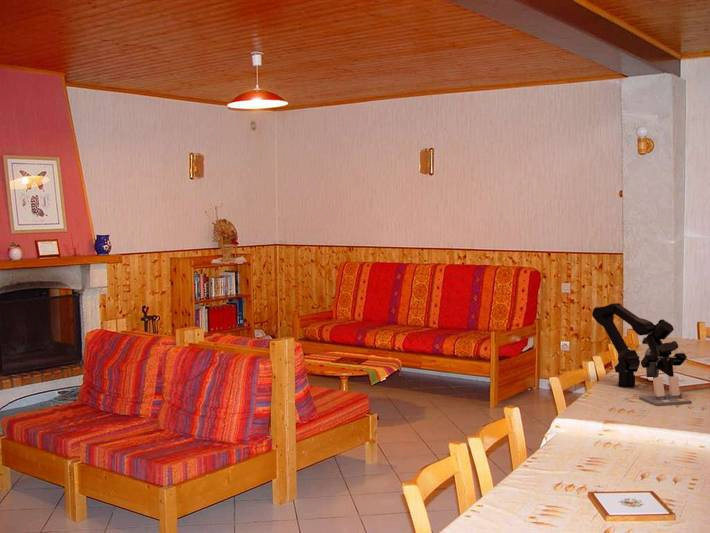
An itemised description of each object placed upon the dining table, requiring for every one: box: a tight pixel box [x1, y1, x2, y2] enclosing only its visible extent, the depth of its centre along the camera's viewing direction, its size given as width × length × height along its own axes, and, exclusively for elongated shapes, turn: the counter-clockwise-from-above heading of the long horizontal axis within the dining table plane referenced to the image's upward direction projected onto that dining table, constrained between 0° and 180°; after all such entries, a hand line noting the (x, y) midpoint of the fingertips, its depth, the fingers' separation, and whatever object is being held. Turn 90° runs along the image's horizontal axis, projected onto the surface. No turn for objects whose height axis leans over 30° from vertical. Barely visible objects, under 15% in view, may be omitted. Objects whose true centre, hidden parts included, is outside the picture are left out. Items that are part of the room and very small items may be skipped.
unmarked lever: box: [652, 376, 666, 398], centre depth 336 cm, size 1×4×8 cm, turn 104°
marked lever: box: [668, 375, 681, 397], centre depth 337 cm, size 1×4×8 cm, turn 104°
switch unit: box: [638, 392, 693, 407], centre depth 336 cm, size 12×16×3 cm
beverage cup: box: [644, 347, 660, 378], centre depth 374 cm, size 7×7×20 cm
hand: (672, 376), depth 338 cm, fingers closed, pressing on marked lever
